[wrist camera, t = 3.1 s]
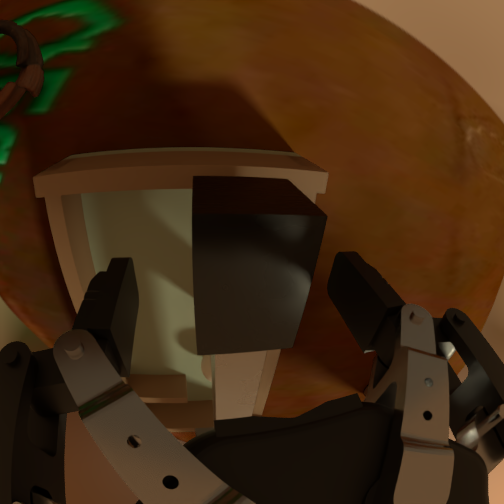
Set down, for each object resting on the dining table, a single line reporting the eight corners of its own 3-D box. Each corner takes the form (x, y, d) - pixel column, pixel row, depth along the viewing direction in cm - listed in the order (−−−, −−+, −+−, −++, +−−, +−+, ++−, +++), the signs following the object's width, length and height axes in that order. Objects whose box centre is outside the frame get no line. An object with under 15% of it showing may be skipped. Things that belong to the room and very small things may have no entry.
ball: (237, 338, 25) (243, 369, 22) (235, 360, 27) (241, 389, 24) (198, 340, 24) (201, 372, 21) (200, 362, 26) (203, 392, 23)
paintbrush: (260, 155, 16) (327, 216, 8) (233, 416, 32) (245, 474, 25) (193, 153, 15) (192, 214, 7) (204, 418, 32) (212, 478, 24)
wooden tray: (294, 152, 18) (398, 220, 9) (253, 390, 33) (272, 466, 24) (71, 155, 15) (-35, 228, 5) (135, 395, 30) (134, 472, 20)
